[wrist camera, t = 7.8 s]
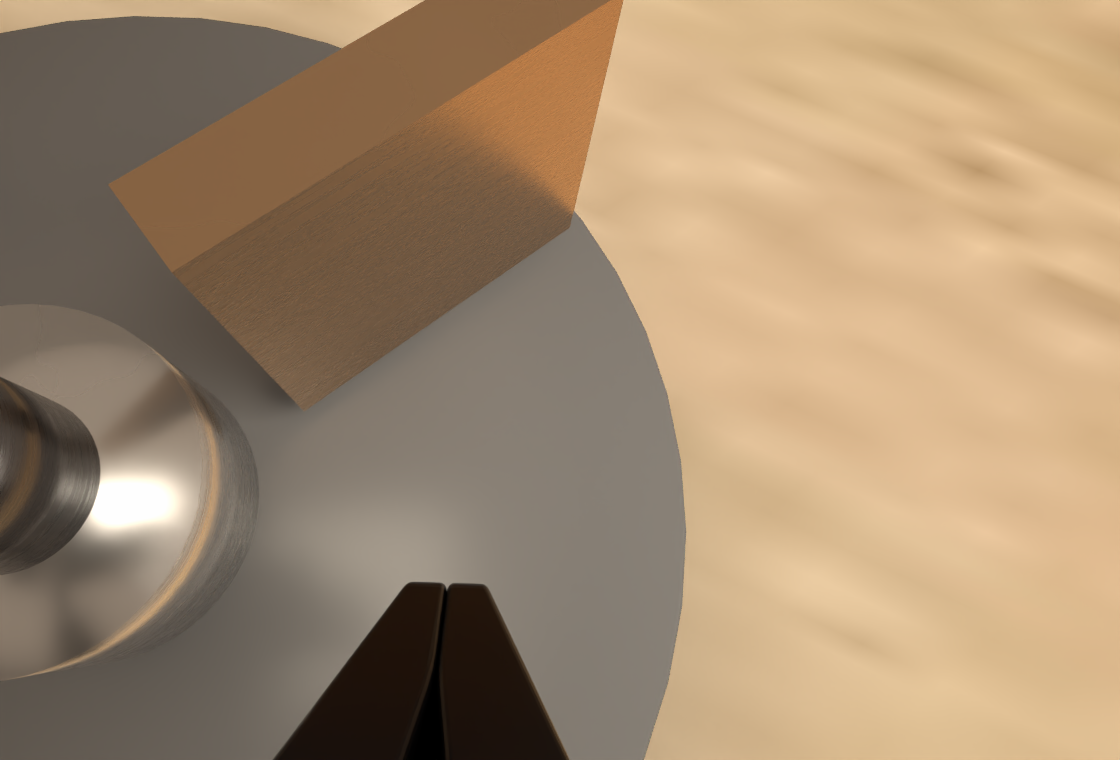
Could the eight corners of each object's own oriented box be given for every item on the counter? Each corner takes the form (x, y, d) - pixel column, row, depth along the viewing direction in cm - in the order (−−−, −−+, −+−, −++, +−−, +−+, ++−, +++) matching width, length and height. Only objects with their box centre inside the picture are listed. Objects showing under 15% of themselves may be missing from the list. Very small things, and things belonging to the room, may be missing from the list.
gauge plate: (-296, 1503, 11) (-383, 1604, 10) (-600, 284, 15) (-691, 258, 14) (868, 742, 15) (899, 754, 14) (401, -73, 19) (395, -117, 18)
